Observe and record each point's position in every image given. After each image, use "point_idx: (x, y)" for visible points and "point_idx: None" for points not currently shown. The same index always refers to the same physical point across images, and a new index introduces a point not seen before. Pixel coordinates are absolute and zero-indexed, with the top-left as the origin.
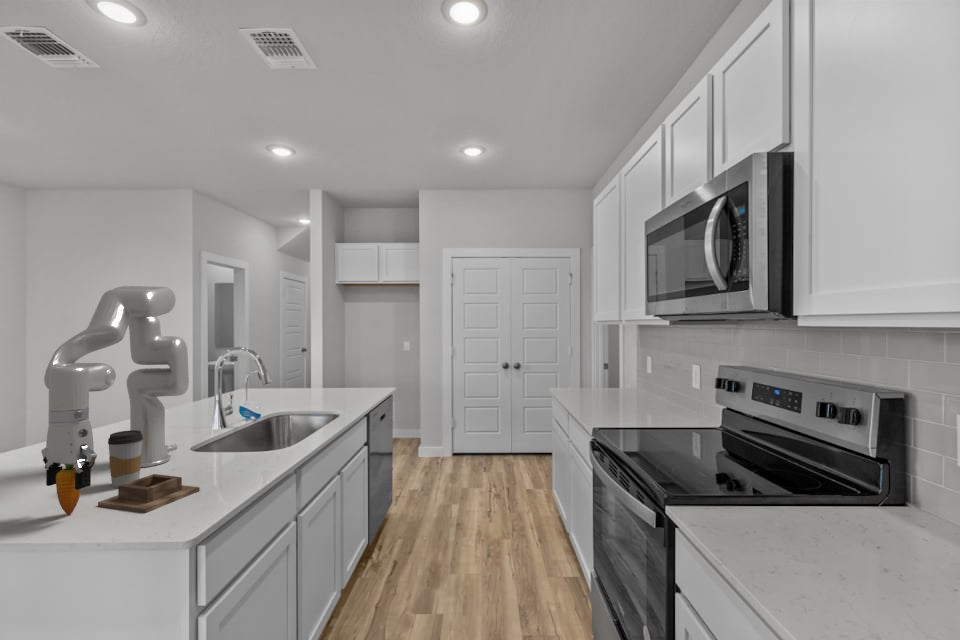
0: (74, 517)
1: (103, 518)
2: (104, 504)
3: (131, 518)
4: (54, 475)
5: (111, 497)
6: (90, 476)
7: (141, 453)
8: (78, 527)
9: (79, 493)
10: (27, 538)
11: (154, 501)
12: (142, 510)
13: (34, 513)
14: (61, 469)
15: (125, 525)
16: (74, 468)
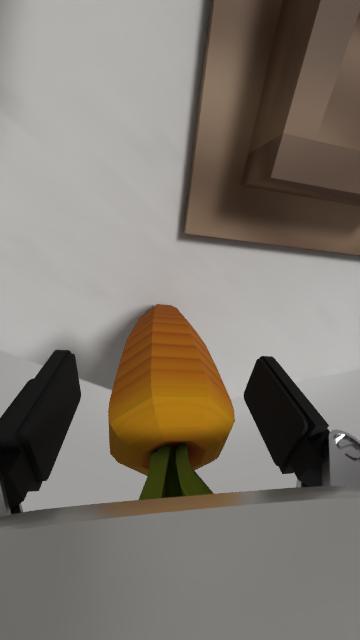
0: (194, 317)
1: (276, 307)
2: (217, 236)
3: (349, 292)
4: (60, 420)
5: (195, 170)
6: (296, 387)
7: None
8: (254, 353)
9: (191, 326)
10: None
11: None
12: None
13: (44, 321)
14: (37, 419)
15: (353, 325)
16: (203, 447)
